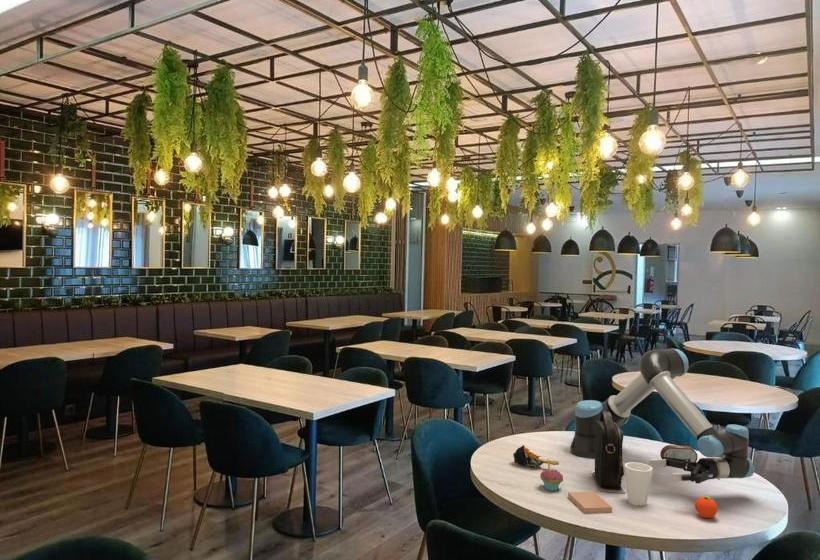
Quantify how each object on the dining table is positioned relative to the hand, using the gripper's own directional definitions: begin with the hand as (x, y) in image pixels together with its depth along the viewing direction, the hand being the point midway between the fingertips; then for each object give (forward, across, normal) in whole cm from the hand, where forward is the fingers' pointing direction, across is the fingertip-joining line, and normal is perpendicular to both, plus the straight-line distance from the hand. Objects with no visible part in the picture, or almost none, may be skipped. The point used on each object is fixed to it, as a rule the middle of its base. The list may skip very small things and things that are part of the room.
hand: (660, 470), depth 209 cm
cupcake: (+35, +16, -12) cm, 40 cm away
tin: (-33, +35, -12) cm, 49 cm away
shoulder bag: (+10, +20, -12) cm, 25 cm away
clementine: (-8, -14, -12) cm, 20 cm away
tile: (+22, 0, -11) cm, 25 cm away
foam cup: (+9, 0, -12) cm, 15 cm away
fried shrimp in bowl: (+32, +39, -12) cm, 52 cm away
